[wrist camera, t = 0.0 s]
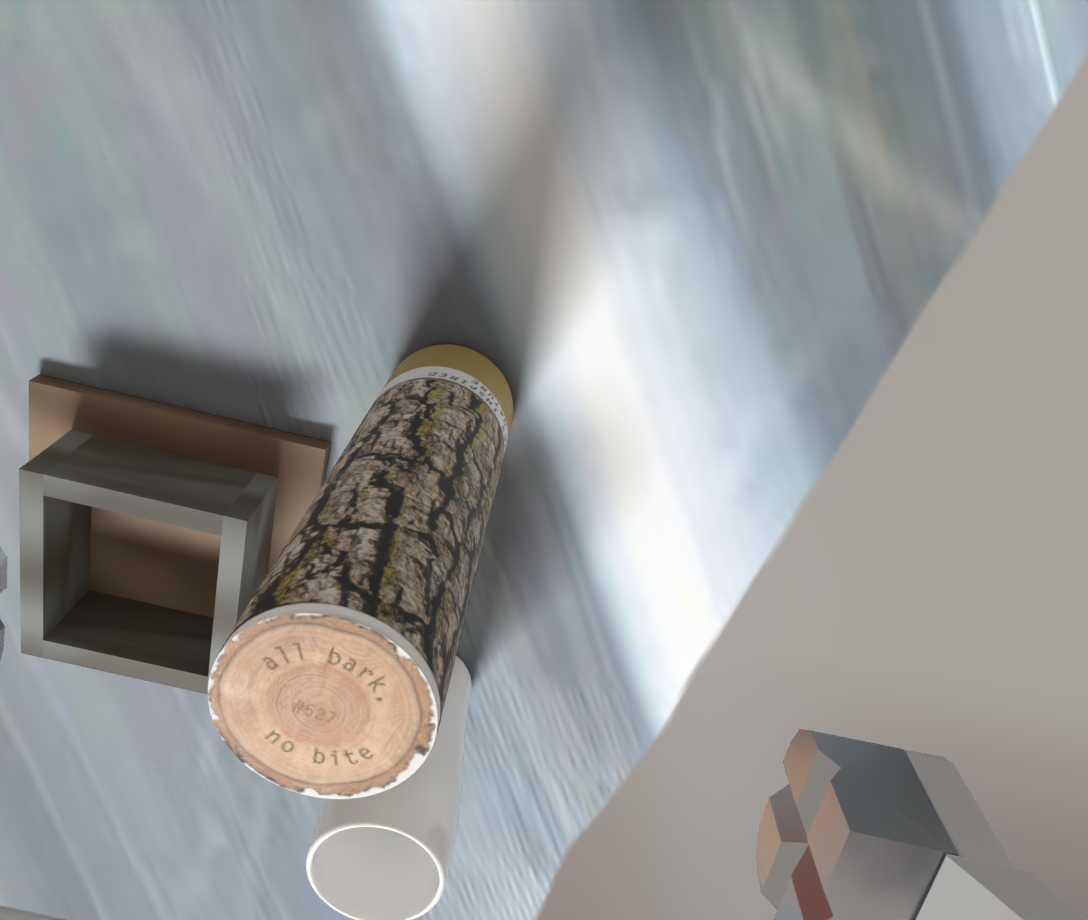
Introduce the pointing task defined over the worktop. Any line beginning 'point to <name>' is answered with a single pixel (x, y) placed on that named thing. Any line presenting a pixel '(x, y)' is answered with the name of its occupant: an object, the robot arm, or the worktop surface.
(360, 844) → the drinking glass
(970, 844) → the robot arm
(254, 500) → the grey square open box
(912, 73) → the worktop surface
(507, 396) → the paper tube
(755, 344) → the worktop surface
